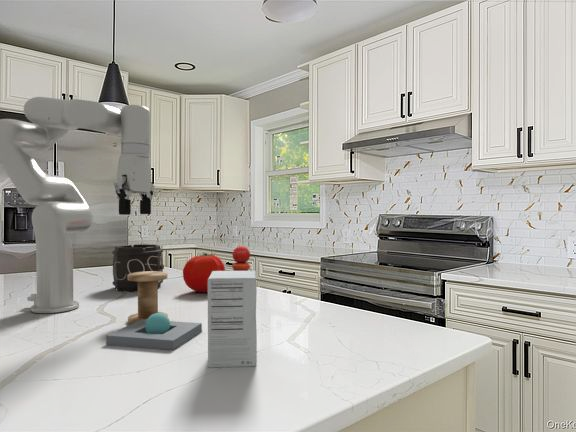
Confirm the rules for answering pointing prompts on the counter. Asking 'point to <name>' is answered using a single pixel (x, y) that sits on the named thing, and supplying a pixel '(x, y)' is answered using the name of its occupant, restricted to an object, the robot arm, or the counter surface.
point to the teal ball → (157, 324)
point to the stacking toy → (241, 259)
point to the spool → (146, 294)
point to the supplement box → (232, 319)
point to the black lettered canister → (135, 264)
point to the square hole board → (154, 335)
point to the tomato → (201, 271)
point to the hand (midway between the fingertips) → (135, 214)
